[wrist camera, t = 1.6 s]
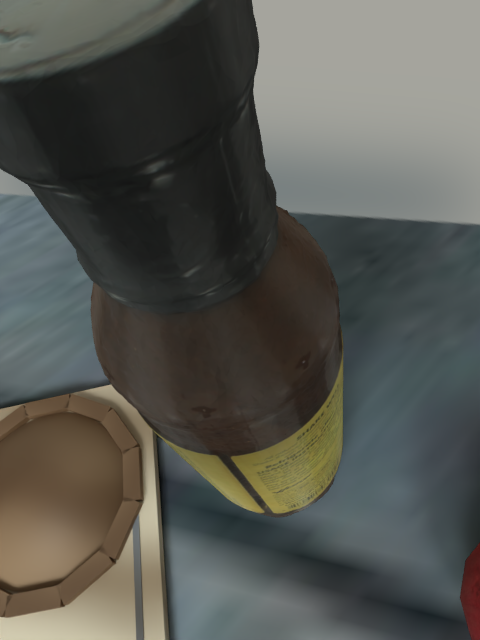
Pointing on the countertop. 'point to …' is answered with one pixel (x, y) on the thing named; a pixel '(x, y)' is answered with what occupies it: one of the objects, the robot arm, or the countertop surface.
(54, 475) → the beige flat board
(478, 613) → the onion
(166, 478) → the countertop surface
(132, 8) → the sauce bottle
